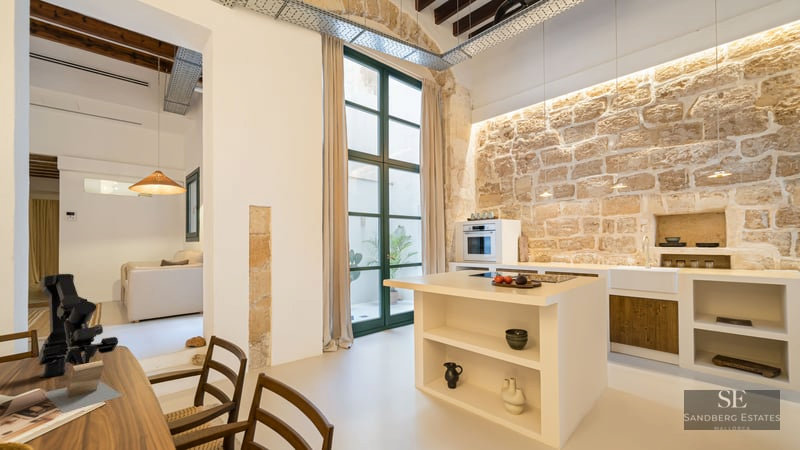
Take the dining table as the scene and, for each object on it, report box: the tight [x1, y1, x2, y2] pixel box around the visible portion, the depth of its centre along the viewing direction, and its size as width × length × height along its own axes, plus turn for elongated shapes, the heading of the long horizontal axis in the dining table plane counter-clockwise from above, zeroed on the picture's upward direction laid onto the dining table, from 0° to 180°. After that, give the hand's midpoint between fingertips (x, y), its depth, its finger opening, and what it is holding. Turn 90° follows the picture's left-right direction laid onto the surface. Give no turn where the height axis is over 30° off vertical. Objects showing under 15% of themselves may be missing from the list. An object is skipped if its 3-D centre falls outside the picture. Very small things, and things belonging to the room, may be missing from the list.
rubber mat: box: [45, 379, 124, 414], centre depth 106 cm, size 22×14×1 cm, turn 58°
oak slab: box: [66, 360, 105, 398], centre depth 107 cm, size 3×7×10 cm, turn 146°
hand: (84, 371), depth 107 cm, fingers closed
